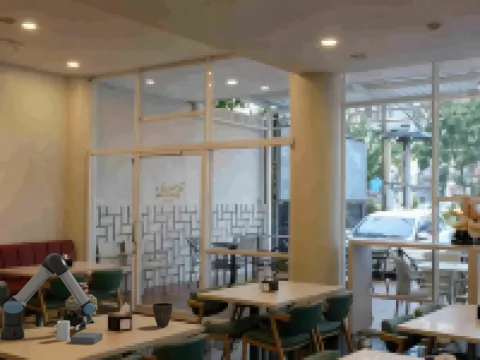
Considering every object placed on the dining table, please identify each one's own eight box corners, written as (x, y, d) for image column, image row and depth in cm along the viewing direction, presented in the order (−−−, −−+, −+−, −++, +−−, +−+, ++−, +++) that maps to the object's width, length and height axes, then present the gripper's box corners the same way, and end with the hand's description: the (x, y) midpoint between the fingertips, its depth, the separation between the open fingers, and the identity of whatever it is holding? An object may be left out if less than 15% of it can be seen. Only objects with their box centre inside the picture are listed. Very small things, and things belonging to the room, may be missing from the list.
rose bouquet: (62, 325, 431) (63, 285, 433) (63, 318, 459) (64, 280, 461) (98, 324, 438) (99, 284, 440) (97, 317, 466) (97, 279, 468)
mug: (54, 342, 377) (55, 323, 378) (49, 340, 384) (49, 321, 384) (72, 340, 385) (72, 321, 386) (66, 337, 392) (66, 319, 392)
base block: (70, 343, 376) (70, 336, 376) (79, 338, 390) (79, 332, 390) (94, 344, 374) (94, 337, 374) (102, 339, 388) (102, 333, 388)
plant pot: (165, 329, 423) (165, 306, 424) (148, 327, 430) (148, 305, 431) (176, 325, 437) (176, 303, 438) (159, 323, 443) (159, 302, 444)
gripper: (96, 327, 411) (84, 334, 390) (62, 326, 415) (48, 332, 394) (96, 317, 412) (84, 322, 391) (62, 316, 415) (49, 321, 394)
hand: (66, 327), depth 392 cm, fingers open, 13 cm apart
